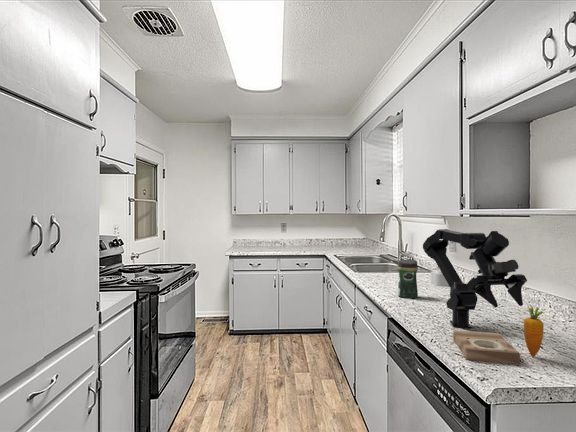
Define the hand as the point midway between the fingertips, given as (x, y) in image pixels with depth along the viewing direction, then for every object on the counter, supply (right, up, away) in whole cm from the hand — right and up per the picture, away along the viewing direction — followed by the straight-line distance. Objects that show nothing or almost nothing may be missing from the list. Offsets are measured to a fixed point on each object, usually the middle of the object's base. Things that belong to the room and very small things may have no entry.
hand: (509, 306), depth 120 cm
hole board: (-9, -13, -3) cm, 16 cm away
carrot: (+3, -13, -7) cm, 16 cm away
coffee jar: (-10, -12, +70) cm, 72 cm away
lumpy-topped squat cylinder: (+21, -12, +102) cm, 105 cm away
